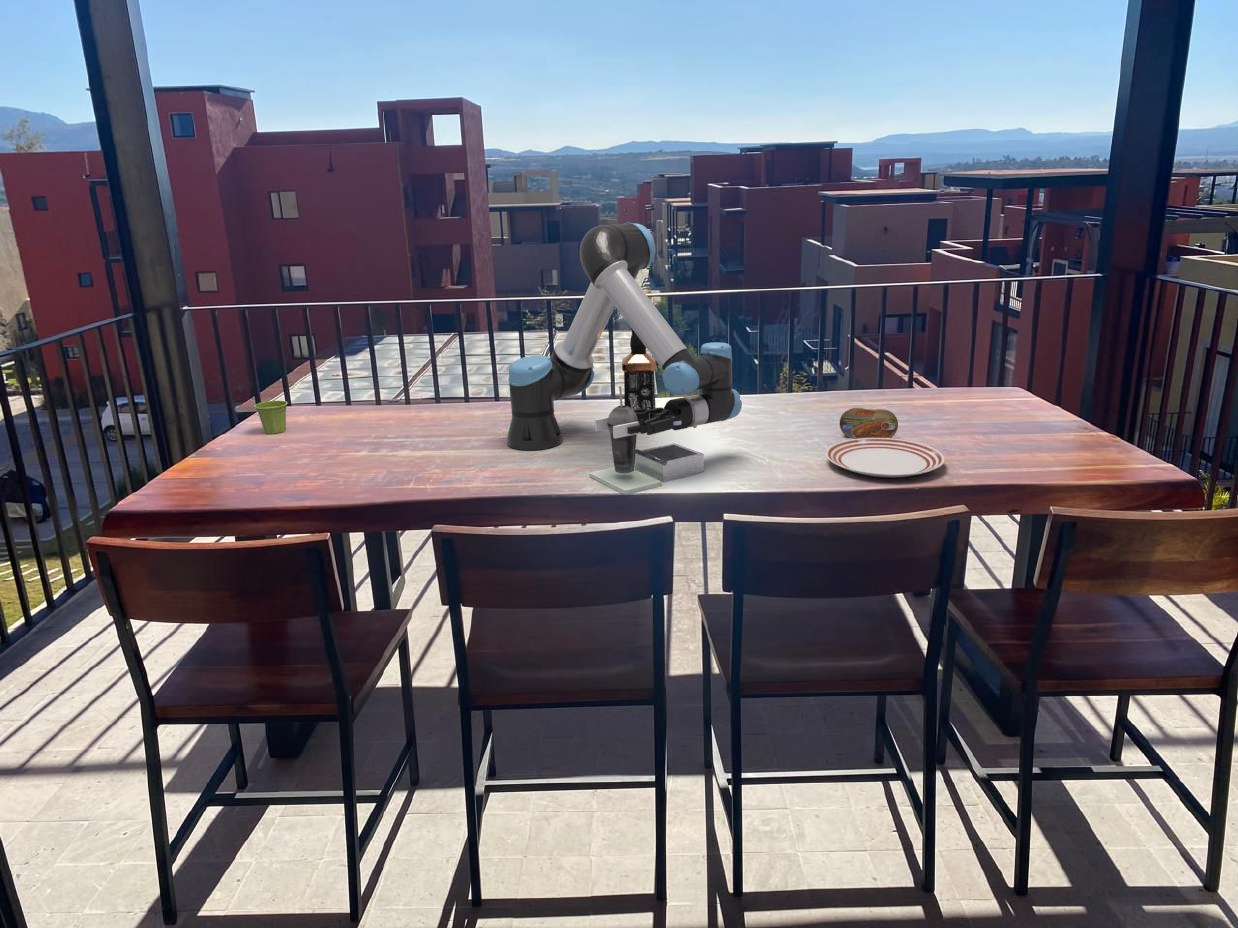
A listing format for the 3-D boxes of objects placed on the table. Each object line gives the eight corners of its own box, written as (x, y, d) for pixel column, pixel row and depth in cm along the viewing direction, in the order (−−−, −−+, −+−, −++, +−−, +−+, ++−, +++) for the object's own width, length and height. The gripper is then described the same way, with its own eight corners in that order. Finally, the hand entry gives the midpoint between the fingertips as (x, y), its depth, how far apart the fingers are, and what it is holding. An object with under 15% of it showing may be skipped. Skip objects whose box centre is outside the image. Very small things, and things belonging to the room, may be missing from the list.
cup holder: (635, 469, 202) (634, 449, 201) (674, 460, 209) (674, 440, 207) (663, 481, 193) (662, 461, 191) (703, 471, 199) (703, 451, 197)
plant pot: (297, 427, 254) (293, 400, 251) (282, 435, 245) (278, 407, 242) (268, 427, 255) (264, 400, 252) (253, 436, 246) (248, 408, 243)
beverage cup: (613, 476, 189) (610, 391, 183) (605, 467, 196) (602, 385, 190) (643, 473, 191) (641, 388, 185) (634, 464, 198) (632, 382, 191)
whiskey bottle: (657, 431, 235) (655, 319, 225) (623, 432, 235) (619, 320, 225) (657, 422, 245) (654, 314, 235) (624, 423, 245) (620, 315, 235)
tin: (838, 437, 223) (839, 407, 220) (841, 434, 226) (842, 404, 223) (895, 443, 216) (898, 412, 214) (898, 440, 219) (900, 409, 216)
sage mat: (589, 476, 198) (589, 472, 198) (624, 468, 203) (624, 465, 203) (625, 494, 185) (625, 490, 185) (661, 485, 190) (661, 481, 190)
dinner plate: (953, 487, 183) (954, 473, 182) (827, 483, 189) (827, 469, 188) (933, 451, 209) (934, 438, 208) (823, 448, 214) (823, 436, 213)
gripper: (711, 436, 192) (629, 454, 180) (661, 419, 208) (583, 435, 197) (711, 405, 190) (628, 421, 178) (660, 390, 206) (582, 405, 194)
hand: (604, 428), depth 187 cm, fingers closed on beverage cup, 7 cm apart
